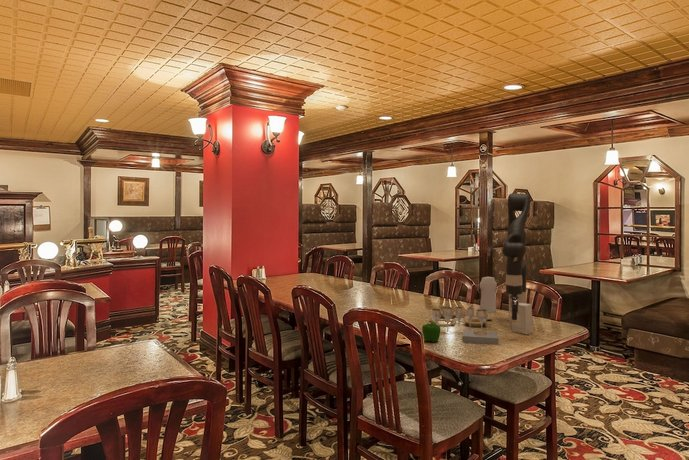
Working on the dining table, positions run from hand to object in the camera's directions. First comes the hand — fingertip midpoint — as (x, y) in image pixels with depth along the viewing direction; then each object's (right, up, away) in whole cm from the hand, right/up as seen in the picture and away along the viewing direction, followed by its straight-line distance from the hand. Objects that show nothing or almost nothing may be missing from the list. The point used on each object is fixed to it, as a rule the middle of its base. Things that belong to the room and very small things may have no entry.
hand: (514, 318), depth 220 cm
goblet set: (-23, -10, +13) cm, 28 cm away
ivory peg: (0, -2, 0) cm, 2 cm away
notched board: (-17, -10, 0) cm, 20 cm away
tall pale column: (+6, -8, +60) cm, 60 cm away
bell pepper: (-41, -11, -1) cm, 42 cm away
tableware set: (-16, -10, +38) cm, 42 cm away
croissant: (-60, -12, -5) cm, 62 cm away
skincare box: (+9, -10, +12) cm, 18 cm away
